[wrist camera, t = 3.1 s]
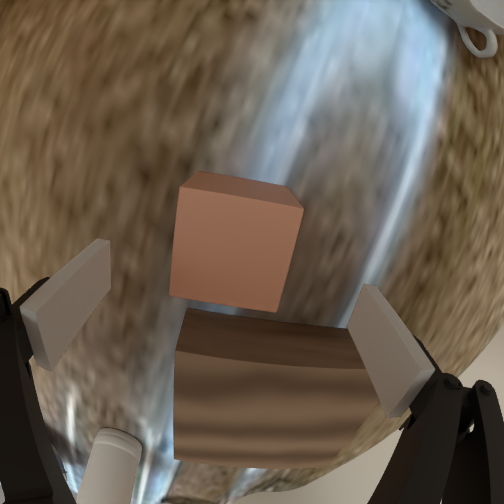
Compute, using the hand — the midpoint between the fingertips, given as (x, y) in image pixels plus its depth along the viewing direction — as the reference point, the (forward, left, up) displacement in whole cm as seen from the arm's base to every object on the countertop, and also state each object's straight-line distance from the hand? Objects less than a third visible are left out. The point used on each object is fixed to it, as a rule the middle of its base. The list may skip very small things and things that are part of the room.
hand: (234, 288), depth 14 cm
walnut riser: (+19, +7, -10) cm, 22 cm away
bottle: (+39, -13, -10) cm, 42 cm away
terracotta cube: (0, 0, -10) cm, 10 cm away
